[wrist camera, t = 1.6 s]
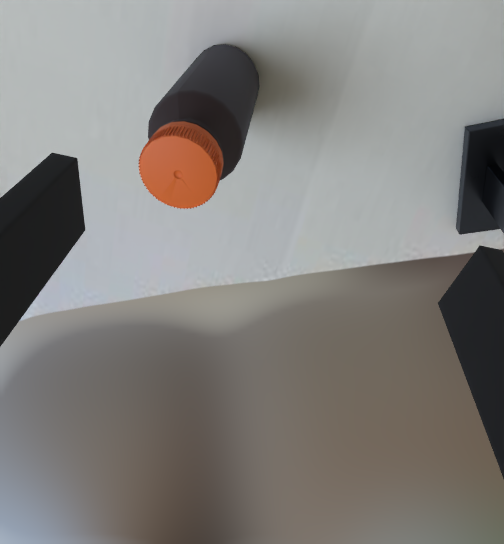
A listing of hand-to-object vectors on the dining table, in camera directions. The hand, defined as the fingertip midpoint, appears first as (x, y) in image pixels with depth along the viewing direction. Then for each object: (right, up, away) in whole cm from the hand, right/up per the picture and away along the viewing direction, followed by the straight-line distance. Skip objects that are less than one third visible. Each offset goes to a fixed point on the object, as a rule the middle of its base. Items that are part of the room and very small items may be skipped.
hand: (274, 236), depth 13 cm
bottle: (-3, +18, +26) cm, 32 cm away
